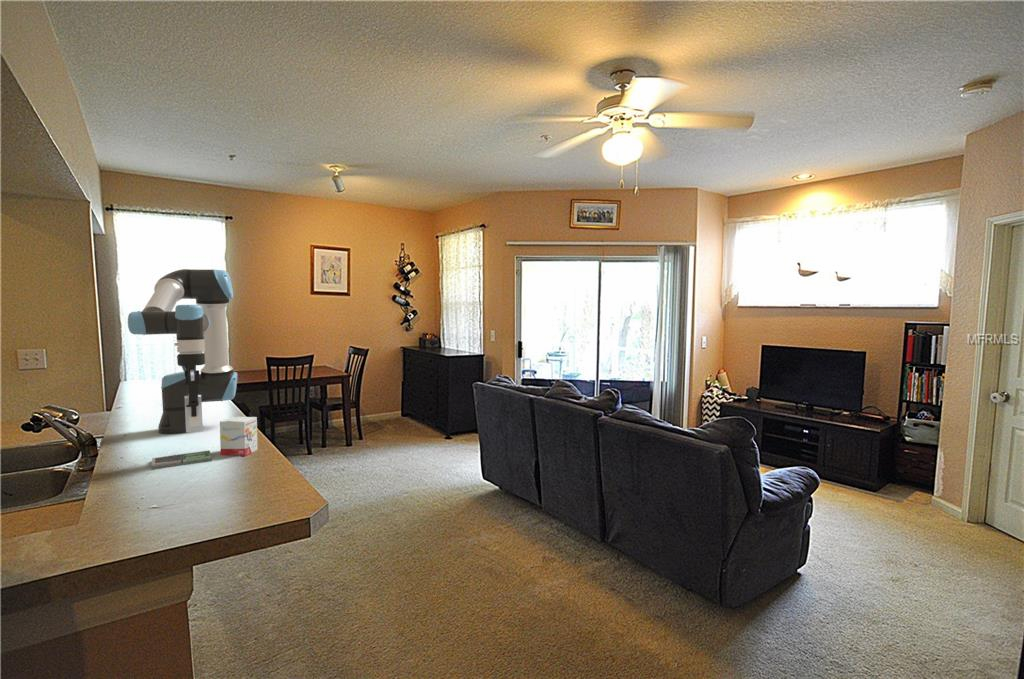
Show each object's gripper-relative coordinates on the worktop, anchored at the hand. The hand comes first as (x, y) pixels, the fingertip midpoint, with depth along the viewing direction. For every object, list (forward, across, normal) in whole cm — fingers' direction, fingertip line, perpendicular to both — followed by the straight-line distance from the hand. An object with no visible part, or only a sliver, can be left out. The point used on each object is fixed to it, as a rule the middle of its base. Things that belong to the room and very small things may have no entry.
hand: (194, 425), depth 166 cm
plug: (+2, 0, 0) cm, 2 cm away
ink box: (+12, -2, +13) cm, 17 cm away
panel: (+11, 0, -4) cm, 12 cm away
